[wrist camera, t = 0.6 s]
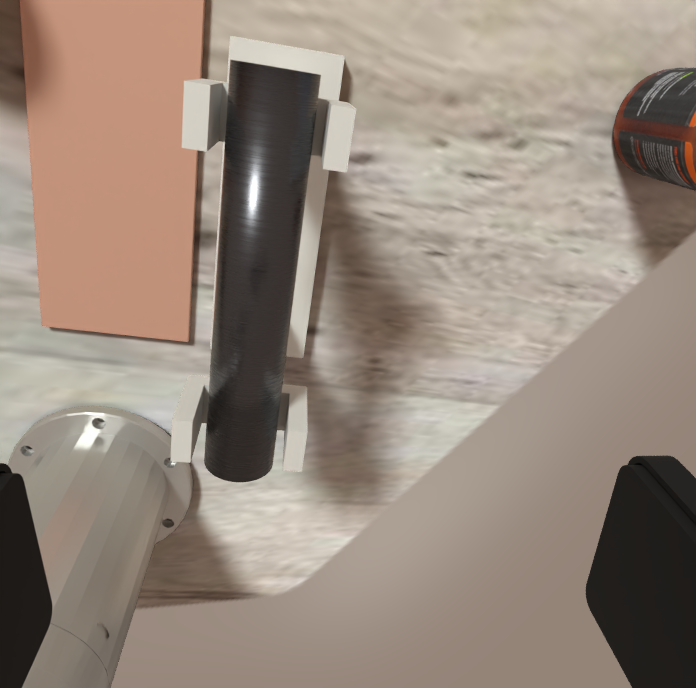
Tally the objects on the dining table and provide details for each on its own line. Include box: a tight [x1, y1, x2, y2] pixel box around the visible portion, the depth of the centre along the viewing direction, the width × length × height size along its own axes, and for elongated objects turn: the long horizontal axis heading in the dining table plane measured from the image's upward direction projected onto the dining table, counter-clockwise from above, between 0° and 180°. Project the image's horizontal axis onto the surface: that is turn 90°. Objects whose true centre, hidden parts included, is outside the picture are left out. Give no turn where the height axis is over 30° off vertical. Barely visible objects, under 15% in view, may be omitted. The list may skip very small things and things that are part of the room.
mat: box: [20, 0, 205, 342], centre depth 34 cm, size 20×9×1 cm, turn 171°
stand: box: [171, 36, 356, 472], centre depth 28 cm, size 18×6×16 cm, turn 171°
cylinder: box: [204, 59, 321, 482], centre depth 23 cm, size 16×3×3 cm, turn 171°
